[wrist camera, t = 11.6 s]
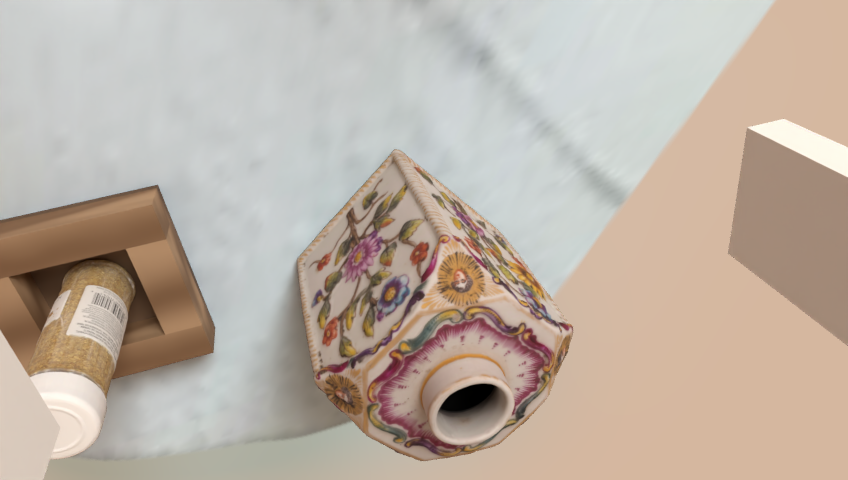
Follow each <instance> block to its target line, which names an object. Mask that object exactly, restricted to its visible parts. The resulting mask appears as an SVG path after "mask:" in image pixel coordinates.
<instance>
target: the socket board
mask: <svg viewBox="0 0 848 480" xmlns="http://www.w3.org/2000/svg"><path fill="white" fill-rule="evenodd" d="M86 260H107V261H110V262H114V263H116V264H118V265H119V266H121V267H123V268H124V269H125V270H126V271H127V272H129V274H130V275H131V277H132V278H133V280H134V282H135V288H136V292H135V297H134V298H133V301H132V303H131V305H130V309H129V312H128V321H127V325H126V329H125V333H124V337H123V341H122V345H121V348H120V352H119V356H118V360H117V364H116V367H115V371H114V374H113V376H112V378H111V379H115V378H119V377H123V376H126V375H130V374H134V373H138V372H141V371H145V370H149V369H153V368H157V367H160V366H164V365H168V364H172V363H176V362H179V361H183V360H187V359H191V358H194V357H198V356H202V355H206V354H210V353H213V350H214V336H215V326H214V323H213V321H212V318H211V316H210V313H209V311H208V309H207V306H206V304H205V301H204V299H203V296H202V294H201V291H200V289H199V286H198V284H197V281H196V279H195V276H194V274H193V271H192V269H191V266H190V264H189V261H188V259H187V256H186V254H185V251H184V249H183V246H182V244H181V241H180V239H179V236H178V234H177V231H176V229H175V227H174V224H173V222H172V219H171V217H170V214H169V212H168V209H167V207H166V204H165V202H164V199H163V197H162V194H161V192H160V189H159V187H158V185H155V186H151V187H146V188H142V189H137V190H133V191H129V192H124V193H120V194H115V195H111V196H106V197H102V198H98V199H93V200H89V201H84V202H80V203H75V204H71V205H67V206H62V207H58V208H53V209H49V210H44V211H40V212H36V213H31V214H27V215H22V216H18V217H13V218H9V219H4V220H0V330H1V332H2V334H3V335H4V337H5V338H6V340H7V342H8V343H9V345H10V347H11V348H12V350H13V351H14V353H15V355H16V356H17V358H18V360H19V361H20V363H21V364H22V366H23V368H24V369H25V371H26V370H27V368H28V365H29V363H30V360H31V358H32V356H33V354H34V351H35V348H36V345H37V342H38V339H39V337H40V335H41V333H42V330H43V327H44V325H45V323H46V320H47V318H48V316H49V313H50V311H51V309H52V307H53V304H54V302H55V301H56V299H57V298H58V296H59V293H60V291H61V289H62V282H63V279H64V277H65V275H66V273H67V272H68V271H69V270H70V269H71V268H73V267H74V266H75V265H77V264H79V263H81V262H84V261H86Z"/></svg>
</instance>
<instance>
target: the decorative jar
mask: <svg viewBox="0 0 848 480" xmlns="http://www.w3.org/2000/svg"><path fill="white" fill-rule="evenodd" d="M297 266H298V278H299V287H300V295H301V303H302V311H303V317H304V323H305V328H306V335H307V341H308V346H309V352H310V358H311V362H312V368H313V372H314V380H315V383H316V385H317V386H318V388H319V389H321V390H322V391H323V392H324V393H326V395H327V397H328V399H329V400H330V401H331V402H333V403H334V405H335V406H336V407H337V408H338V409H339V410H341V411H342V412H344V413H345V414H346V415H348V416H349V418H350V419H351V420H352V421H353V422H354V423H355V424H356V425H357V426H358V427H359V429H361V430H362V432H363V433H365V434H366V435H367V436H368V437H370V438H372V439H374V440H376V441H378V442H380V443H382V444H383V445H385V446H387V447H389V448H391V449H393V450H395V451H396V452H397V453H400V454H403V455H406V456H409V457H412V458H414V459H417V460H420V461H428V460H433V459H440V458H449V457H454V456H459V455H465V454H471V453H473V452H475V451H478V450H482V449H486V448H490V447H493V446H496V445H498V444H500V443H501V442H502V441H503V440H504V439H505V438H507V437H508V436H509V435H510V434H511V433H512V432H514V431H515V430H516V429H517V428H518V427H519V426H520V425H522V424H523V423H524V422H525V421H527V419H528V418H529V417H530V416H531V415H532V414H533V413H534V412H535V411H536V410H537V409H538V407H540V406H541V405H542V404H543V402H544V401H545V400H546V399H547V397H548V396H549V394H550V391H551V388H552V386H553V383H554V380H555V377H556V375H557V373H558V370H559V368H560V366H561V364H562V362H563V360H564V358H565V356H566V354H567V352H568V349H569V344H570V341H571V339H572V335H573V327H572V325H571V324H569V323H568V322H567V320H566V319H565V317H564V316H563V314H562V313H561V311H560V310H559V308H558V307H557V305H556V304H555V303H554V301H553V300H552V299H551V297H550V296H549V294H548V293H547V292H546V291H545V289H544V288H543V287H542V286H541V284H540V283H539V282H538V280H537V279H536V278H535V276H534V275H533V273H532V272H531V270H530V269H529V268H528V266H527V265H526V264H525V262H524V261H523V259H522V258H521V257H520V256H519V254H518V253H517V252H516V250H515V249H514V248H513V247H512V245H510V243H509V242H508V241H507V239H506V238H505V237H504V236H503V235H502V234H501V232H500V231H499V230H498V229H496V228H495V227H494V226H493V225H491V224H490V223H489V222H488V221H486V220H485V219H484V218H483V217H481V216H480V215H479V214H478V213H477V212H475V211H474V210H473V209H472V208H471V207H469V206H468V205H467V204H466V203H464V202H463V201H462V200H461V199H460V198H458V197H457V196H456V195H455V194H454V193H453V192H451V191H450V190H449V189H447V188H446V187H445V186H444V185H443V184H441V183H440V182H439V181H438V180H436V179H435V178H434V177H433V176H431V175H430V174H429V173H427V172H426V171H425V170H424V169H422V168H421V167H420V166H419V165H418V164H416V163H415V162H414V161H413V160H412V159H410V158H409V157H408V156H407V155H406V154H405V153H403V152H402V151H400V150H397V149H395V150H394V151H393V152H392V153H391V155H390V156H389V157H388V158H387V159H386V161H384V162H383V163H382V165H381V167H379V168H378V169H377V170H376V171H375V173H373V174H372V176H371V177H370V178H369V179H368V180H367V181H366V182H365V184H364V185H363V186H362V187H361V188H360V189H359V190H358V191H357V192H356V193H355V194H354V195H353V196H352V198H351V199H350V200H349V201H348V203H347V204H346V205H345V206H344V207H343V208H342V209H341V210H340V211H339V212H338V213H337V214H336V216H335V217H334V218H333V219H332V220H331V221H330V222H329V223H328V224H327V225H326V226H325V228H324V229H323V230H322V231H321V232H320V233H319V235H318V236H317V237H316V238H315V239H314V240H313V242H312V243H311V244H310V245H309V246H308V247H307V248H306V250H305V251H304V252H303V253H302V254H301V255H300V256H299V258H298V259H297Z"/></svg>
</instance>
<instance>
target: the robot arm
mask: <svg viewBox="0 0 848 480" xmlns="http://www.w3.org/2000/svg"><path fill="white" fill-rule="evenodd" d="M728 253H729V254H730V255H731V256H732V257H733V258H735V259H736V260H737V261H739V262H740V263H741V264H743V265H744V266H745V267H746V268H748V269H749V270H750V271H752V272H753V273H754V274H755V275H757V276H758V277H759V278H761V279H762V280H763V281H765V282H766V283H767V284H768V285H770V286H771V287H772V288H774V289H775V290H776V291H777V292H779V293H780V294H781V295H783V296H784V297H785V298H787V299H788V300H789V301H790V302H792V303H793V304H794V305H796V306H797V307H798V308H800V309H801V310H802V311H803V312H805V313H806V314H807V315H808V316H810V317H811V318H812V319H814V320H815V321H816V322H818V323H819V324H820V325H821V326H823V327H824V328H825V329H827V330H828V331H829V332H831V333H832V334H833V335H834V336H836V337H837V338H838V339H840V340H841V341H842V342H843V343H845V344H846V345H847V346H848V147H845V146H844V145H841V144H839V143H837V142H834V141H832V140H830V139H828V138H825V137H823V136H821V135H819V134H816V133H814V132H812V131H810V130H807V129H805V128H803V127H801V126H799V125H796V124H794V123H792V122H790V121H787V120H785V119H782V120H778V121H773V122H769V123H765V124H761V125H756V126H752V127H748V128H747V132H746V138H745V145H744V151H743V159H742V165H741V171H740V178H739V184H738V191H737V198H736V204H735V211H734V218H733V224H732V231H731V237H730V244H729V251H728ZM59 431H60V426H59V425H58V423H57V421H56V420H55V418H54V416H53V415H52V413H51V412H50V410H49V408H48V407H47V405H46V403H45V402H44V400H43V399H42V397H41V395H40V394H39V392H38V390H37V389H36V387H35V386H34V384H33V382H32V381H31V379H30V377H29V376H28V374H27V373H26V371H25V369H24V368H23V366H22V364H21V363H20V361H19V360H18V358H17V356H16V355H15V353H14V351H13V350H12V348H11V347H10V345H9V343H8V342H7V340H6V338H5V337H4V335H3V334H2V332H1V330H0V480H43V479H44V476H45V473H46V470H47V467H48V464H49V461H50V458H51V455H52V452H53V449H54V446H55V443H56V440H57V437H58V434H59Z"/></svg>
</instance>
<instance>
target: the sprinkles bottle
mask: <svg viewBox="0 0 848 480" xmlns="http://www.w3.org/2000/svg"><path fill="white" fill-rule="evenodd" d="M135 292H136V288H135V282H134V280H133V278H132V277H131V275H130V274H129V272H127V271H126V270H125V269H124V268H123V267H121V266H119V265H118V264H116V263H114V262H110V261H107V260H86V261H84V262H81V263H79V264H77V265H75V266H74V267H73V268H71V269H70V270H69V271H68V272H67V273H66V275H65V277H64V279H63V282H62V289H61V291H60V293H59V296H58V298H57V299H56V301H55V302H54V304H53V307H52V309H51V311H50V313H49V316H48V318H47V320H46V323H45V325H44V327H43V330H42V333H41V335H40V337H39V339H38V342H37V345H36V348H35V351H34V354H33V356H32V358H31V360H30V363H29V365H28V368H27V370H26V373H27V374H28V376H29V377H30V379H31V381H32V382H33V384H34V386H35V387H36V389H37V390H38V392H39V394H40V395H41V397H42V399H43V400H44V402H45V403H46V405H47V407H48V408H49V410H50V412H51V413H52V415H53V416H54V418H55V420H56V421H57V423H58V425H59V426H60V431H59V434H58V437H57V440H56V443H55V446H54V449H53V452H52V455H51V458H50V459H62V458H67V457H71V456H74V455H76V454H79V453H81V452H83V451H84V450H86V449H88V448H89V447H90V446H91V445H92V444H93V443H94V442H95V441H96V439H97V438H98V436H99V434H100V431H101V428H102V425H103V421H104V418H105V414H106V409H107V402H106V398H107V392H108V389H109V385H110V382H111V378H112V376H113V374H114V371H115V367H116V364H117V360H118V356H119V352H120V348H121V345H122V341H123V337H124V333H125V329H126V325H127V321H128V312H129V309H130V305H131V303H132V301H133V298H134V297H135Z"/></svg>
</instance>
